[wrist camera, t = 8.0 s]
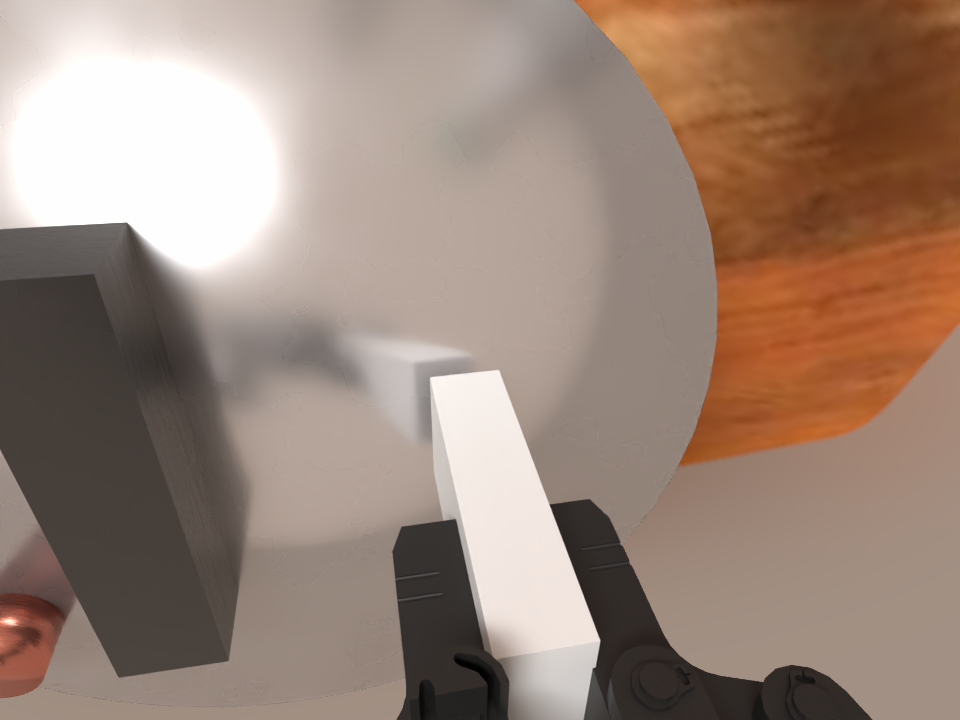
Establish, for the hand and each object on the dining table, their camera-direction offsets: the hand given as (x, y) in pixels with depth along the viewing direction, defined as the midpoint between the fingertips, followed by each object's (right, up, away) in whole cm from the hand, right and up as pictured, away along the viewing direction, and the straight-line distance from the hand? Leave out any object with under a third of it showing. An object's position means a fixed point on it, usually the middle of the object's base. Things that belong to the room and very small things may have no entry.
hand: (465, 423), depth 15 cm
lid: (-5, 0, +1) cm, 5 cm away
